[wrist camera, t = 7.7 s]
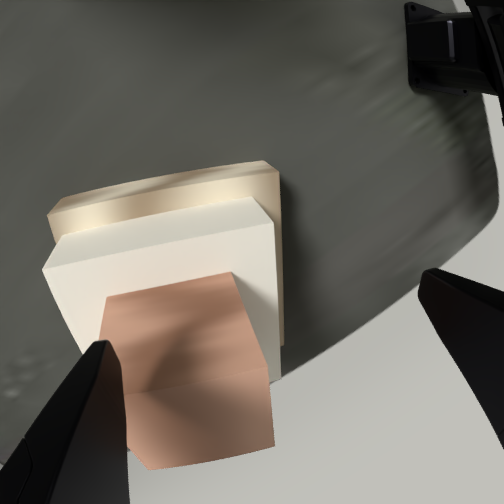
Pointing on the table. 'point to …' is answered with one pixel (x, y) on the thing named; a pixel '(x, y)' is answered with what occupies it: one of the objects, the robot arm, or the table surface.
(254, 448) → the terracotta cube
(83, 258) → the cream top slab
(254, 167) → the birch base slab
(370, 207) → the table surface
